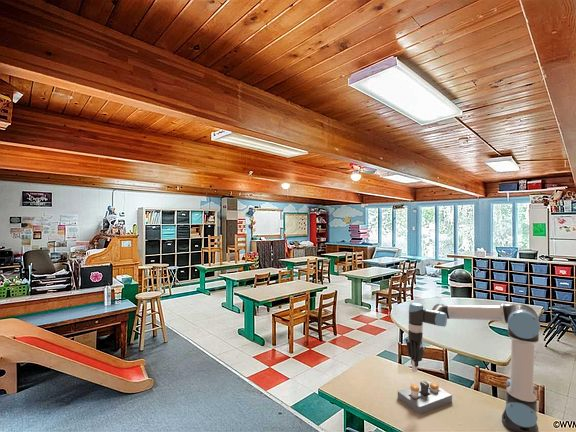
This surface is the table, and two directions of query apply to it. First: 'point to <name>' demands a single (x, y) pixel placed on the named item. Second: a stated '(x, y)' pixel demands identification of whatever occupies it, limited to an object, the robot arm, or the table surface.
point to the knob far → (434, 387)
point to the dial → (424, 388)
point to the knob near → (414, 391)
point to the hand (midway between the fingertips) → (414, 371)
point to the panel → (425, 399)
